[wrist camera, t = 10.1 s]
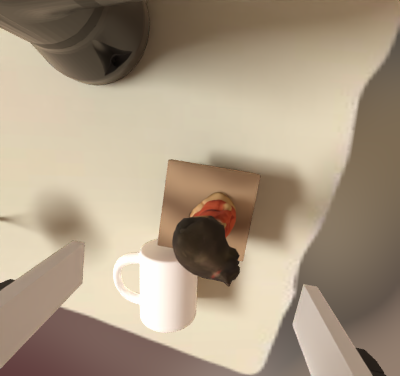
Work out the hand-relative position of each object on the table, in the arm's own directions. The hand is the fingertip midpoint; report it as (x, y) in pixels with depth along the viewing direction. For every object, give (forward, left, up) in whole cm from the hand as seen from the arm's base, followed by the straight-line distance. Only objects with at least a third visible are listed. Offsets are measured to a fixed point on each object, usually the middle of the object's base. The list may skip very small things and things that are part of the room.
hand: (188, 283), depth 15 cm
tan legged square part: (0, 0, -22) cm, 22 cm away
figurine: (0, +1, -16) cm, 16 cm away
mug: (+12, -5, -22) cm, 26 cm away
